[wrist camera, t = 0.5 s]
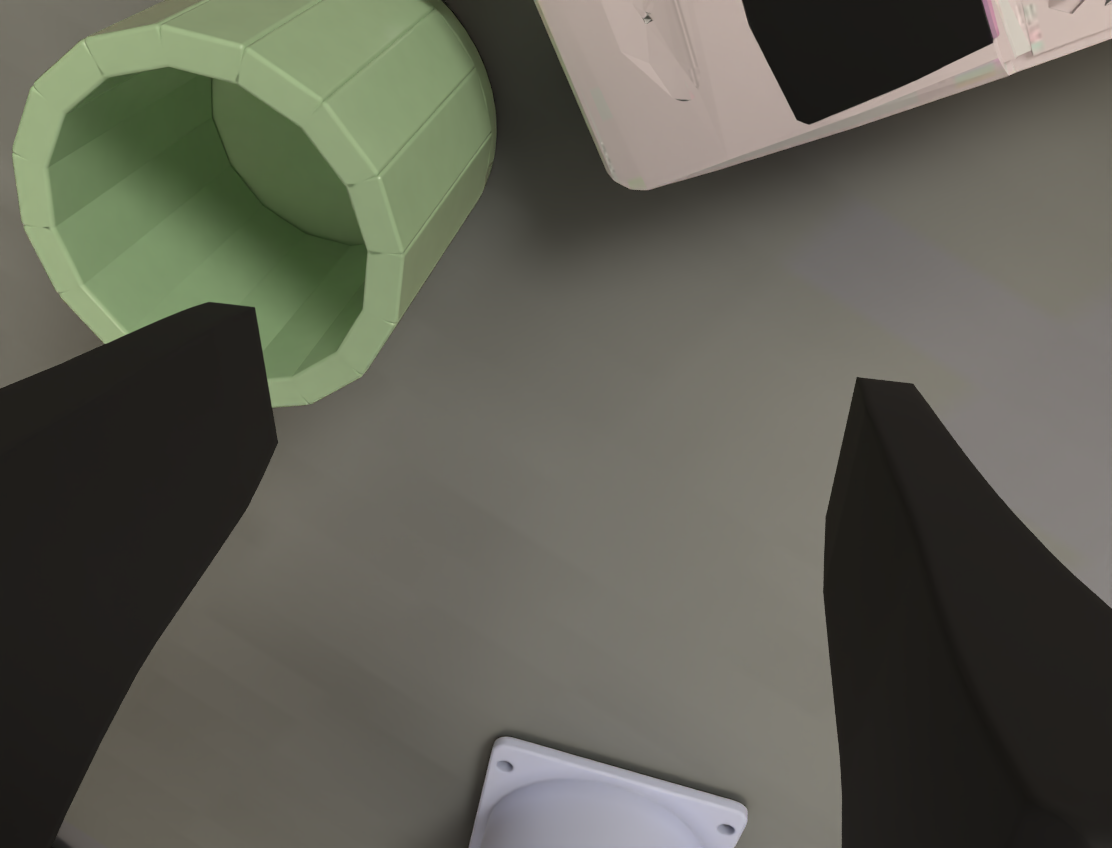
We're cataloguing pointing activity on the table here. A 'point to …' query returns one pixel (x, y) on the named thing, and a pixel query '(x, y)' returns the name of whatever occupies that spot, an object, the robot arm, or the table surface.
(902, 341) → the table surface
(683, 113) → the mobile phone
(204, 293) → the pen cup
